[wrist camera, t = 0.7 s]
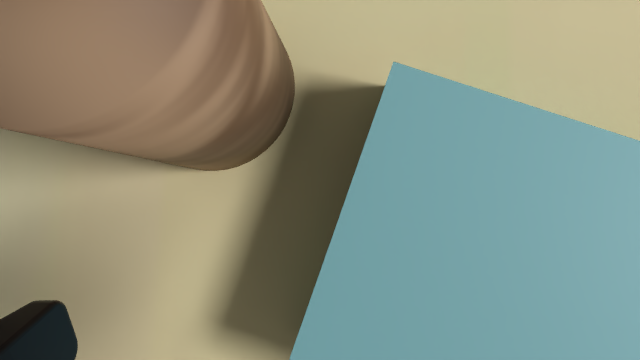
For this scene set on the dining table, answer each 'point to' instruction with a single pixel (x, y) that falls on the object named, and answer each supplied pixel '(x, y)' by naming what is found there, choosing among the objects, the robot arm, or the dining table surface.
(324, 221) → the dining table surface
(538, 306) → the base block
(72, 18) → the brown vase
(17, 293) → the dining table surface
